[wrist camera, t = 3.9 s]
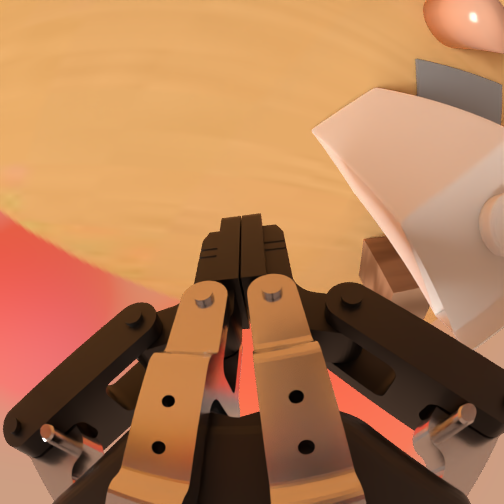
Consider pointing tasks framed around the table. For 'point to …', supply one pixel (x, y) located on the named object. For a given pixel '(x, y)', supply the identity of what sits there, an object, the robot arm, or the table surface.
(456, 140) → the milk carton
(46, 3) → the table surface
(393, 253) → the wooden block
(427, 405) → the robot arm
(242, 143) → the table surface
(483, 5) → the pink rounded glossy part
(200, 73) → the table surface
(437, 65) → the mat
